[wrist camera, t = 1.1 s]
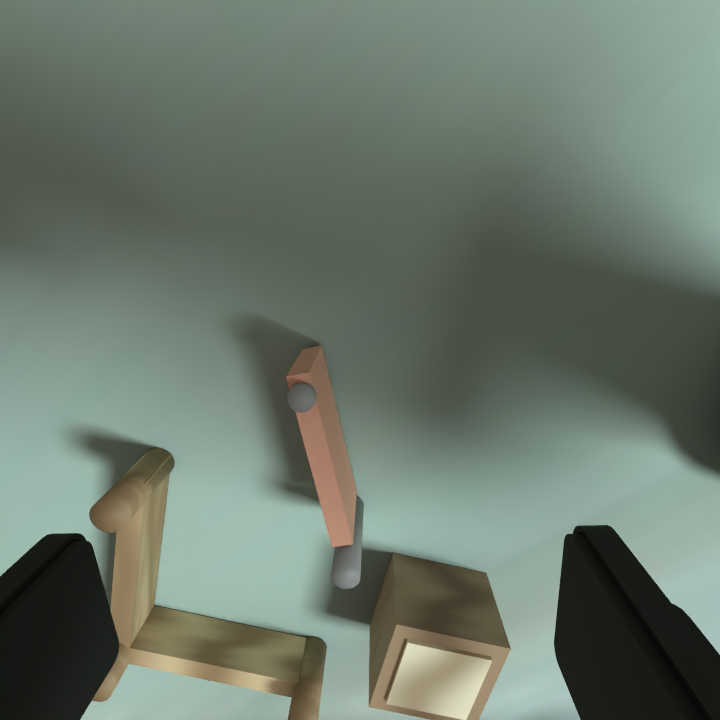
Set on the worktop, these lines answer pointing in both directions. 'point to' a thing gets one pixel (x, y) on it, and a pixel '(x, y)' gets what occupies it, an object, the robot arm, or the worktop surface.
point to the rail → (328, 461)
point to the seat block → (435, 641)
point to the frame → (186, 630)
